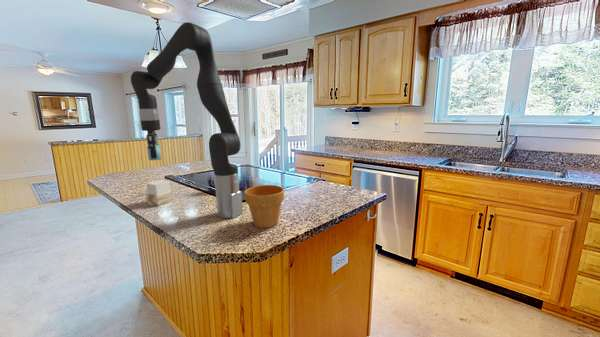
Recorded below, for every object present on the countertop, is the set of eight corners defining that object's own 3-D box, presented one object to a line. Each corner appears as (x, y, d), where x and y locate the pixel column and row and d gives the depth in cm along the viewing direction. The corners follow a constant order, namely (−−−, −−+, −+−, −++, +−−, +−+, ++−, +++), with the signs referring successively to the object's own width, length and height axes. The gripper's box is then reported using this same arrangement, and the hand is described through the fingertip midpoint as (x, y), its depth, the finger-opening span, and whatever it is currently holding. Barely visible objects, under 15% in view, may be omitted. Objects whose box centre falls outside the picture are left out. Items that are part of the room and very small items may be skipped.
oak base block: (173, 201, 133) (172, 191, 132) (158, 207, 126) (156, 196, 125) (162, 199, 137) (161, 189, 136) (147, 204, 130) (145, 194, 129)
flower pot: (238, 226, 103) (236, 192, 100) (262, 213, 115) (261, 183, 112) (269, 234, 96) (268, 198, 93) (292, 220, 108) (291, 187, 105)
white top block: (171, 191, 132) (169, 181, 131) (157, 195, 126) (155, 185, 125) (161, 189, 135) (160, 179, 134) (147, 193, 130) (146, 183, 128)
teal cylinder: (163, 158, 128) (161, 145, 127) (153, 160, 124) (151, 147, 123) (156, 158, 131) (155, 145, 130) (146, 159, 127) (144, 146, 125)
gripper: (157, 119, 118) (162, 159, 122) (160, 118, 132) (165, 154, 135) (137, 120, 116) (143, 160, 120) (142, 119, 129) (147, 155, 133)
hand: (154, 157), depth 127 cm, fingers closed on teal cylinder, 5 cm apart
